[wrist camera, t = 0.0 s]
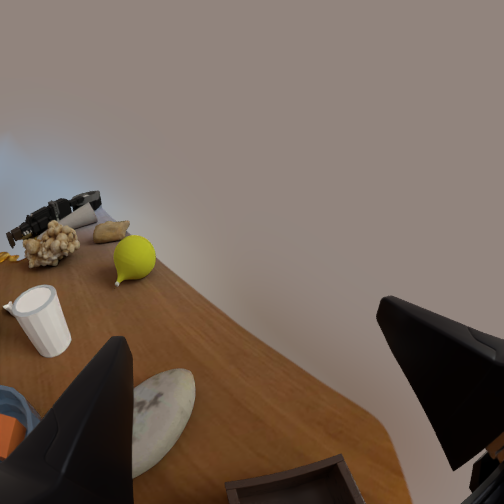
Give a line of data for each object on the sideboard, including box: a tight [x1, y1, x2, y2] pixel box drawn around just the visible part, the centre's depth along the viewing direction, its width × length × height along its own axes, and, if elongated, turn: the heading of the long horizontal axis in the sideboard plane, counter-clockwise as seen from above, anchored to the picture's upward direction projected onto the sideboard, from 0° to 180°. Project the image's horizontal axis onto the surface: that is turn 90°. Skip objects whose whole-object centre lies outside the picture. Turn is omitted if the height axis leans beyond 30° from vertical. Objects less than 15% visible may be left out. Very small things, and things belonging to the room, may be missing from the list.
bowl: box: [0, 385, 42, 463], centre depth 11 cm, size 11×11×4 cm
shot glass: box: [12, 285, 71, 357], centre depth 25 cm, size 7×7×7 cm
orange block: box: [0, 414, 26, 461], centre depth 11 cm, size 5×4×2 cm
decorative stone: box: [132, 368, 195, 478], centre depth 17 cm, size 6×16×3 cm, turn 157°
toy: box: [6, 196, 85, 248], centre depth 64 cm, size 14×8×30 cm
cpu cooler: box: [72, 191, 102, 212], centre depth 81 cm, size 10×6×10 cm
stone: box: [93, 221, 130, 243], centre depth 58 cm, size 9×5×10 cm
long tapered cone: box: [37, 202, 98, 240], centre depth 63 cm, size 6×6×19 cm
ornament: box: [114, 235, 156, 289], centre depth 40 cm, size 7×7×10 cm
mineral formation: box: [23, 220, 80, 268], centre depth 45 cm, size 8×13×15 cm
